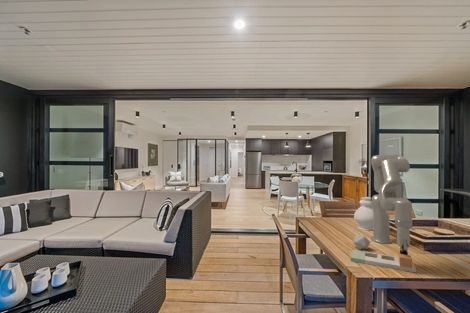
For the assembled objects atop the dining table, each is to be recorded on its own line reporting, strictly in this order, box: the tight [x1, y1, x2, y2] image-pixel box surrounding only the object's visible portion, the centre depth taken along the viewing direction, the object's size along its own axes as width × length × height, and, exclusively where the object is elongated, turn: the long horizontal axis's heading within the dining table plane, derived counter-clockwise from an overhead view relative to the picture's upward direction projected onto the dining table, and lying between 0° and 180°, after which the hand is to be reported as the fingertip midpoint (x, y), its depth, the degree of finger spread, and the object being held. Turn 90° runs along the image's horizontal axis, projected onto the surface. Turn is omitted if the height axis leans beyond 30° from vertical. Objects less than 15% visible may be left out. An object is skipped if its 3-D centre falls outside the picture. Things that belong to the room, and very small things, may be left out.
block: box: [398, 253, 413, 268], centre depth 122 cm, size 5×5×4 cm
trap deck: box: [350, 249, 417, 273], centre depth 131 cm, size 13×29×2 cm, turn 62°
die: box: [352, 234, 371, 250], centre depth 151 cm, size 8×9×10 cm
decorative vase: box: [353, 196, 373, 231], centre depth 195 cm, size 18×18×25 cm
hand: (403, 258), depth 126 cm, fingers closed
